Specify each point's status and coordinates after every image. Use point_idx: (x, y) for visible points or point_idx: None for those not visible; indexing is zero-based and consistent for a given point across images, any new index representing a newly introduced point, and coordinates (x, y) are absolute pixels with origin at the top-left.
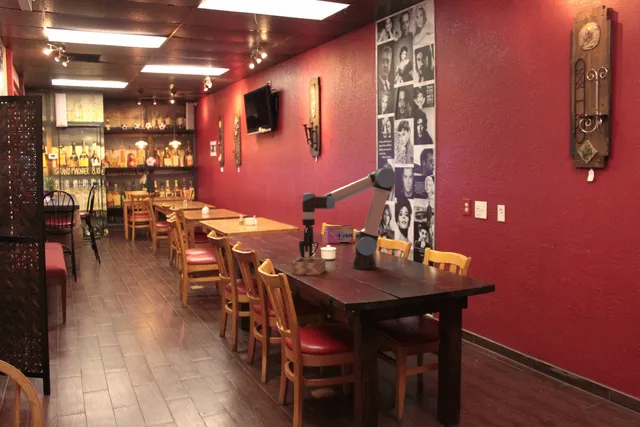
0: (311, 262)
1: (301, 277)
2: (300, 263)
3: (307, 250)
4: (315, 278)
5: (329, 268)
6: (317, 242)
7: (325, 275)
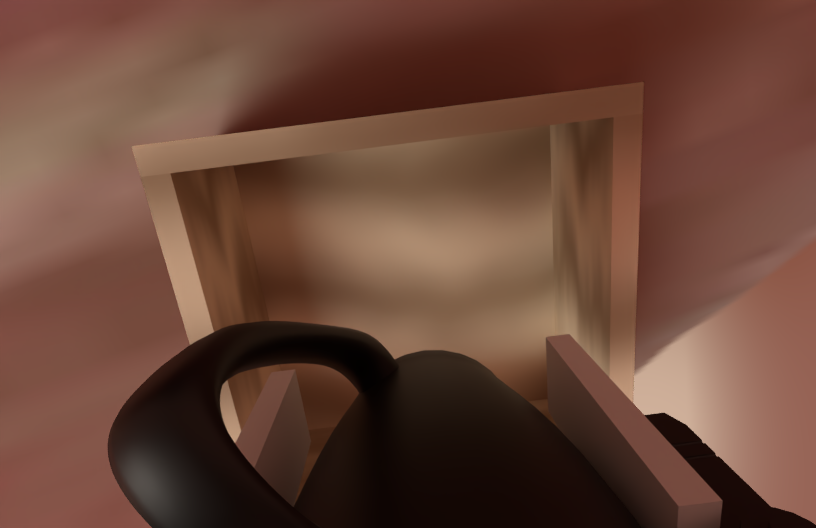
0: None
1: (720, 248)
2: (627, 379)
3: (685, 434)
4: (759, 76)
5: (100, 125)
6: (189, 440)
7: (561, 14)
